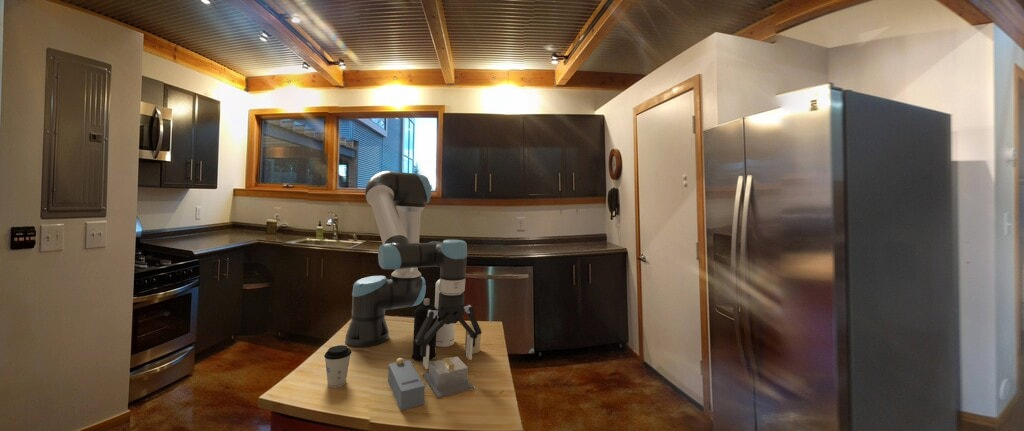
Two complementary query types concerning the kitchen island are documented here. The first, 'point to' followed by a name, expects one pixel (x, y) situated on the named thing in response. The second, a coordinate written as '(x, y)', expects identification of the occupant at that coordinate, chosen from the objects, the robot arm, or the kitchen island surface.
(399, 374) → the block plane
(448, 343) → the bottle
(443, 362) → the lever cap
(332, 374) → the coffee cup
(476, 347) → the candle
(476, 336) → the robot arm
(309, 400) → the kitchen island surface
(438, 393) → the rubber mat
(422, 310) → the aerosol can
